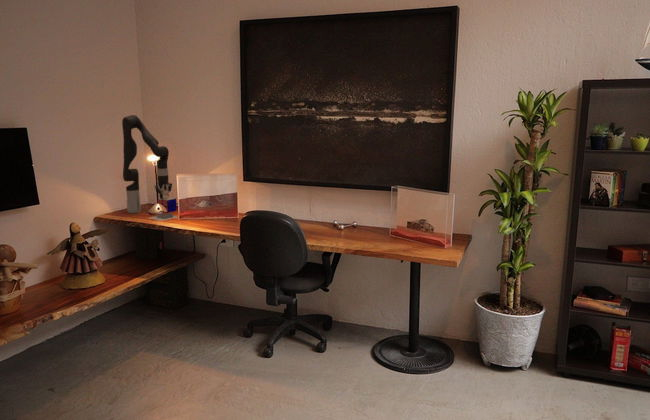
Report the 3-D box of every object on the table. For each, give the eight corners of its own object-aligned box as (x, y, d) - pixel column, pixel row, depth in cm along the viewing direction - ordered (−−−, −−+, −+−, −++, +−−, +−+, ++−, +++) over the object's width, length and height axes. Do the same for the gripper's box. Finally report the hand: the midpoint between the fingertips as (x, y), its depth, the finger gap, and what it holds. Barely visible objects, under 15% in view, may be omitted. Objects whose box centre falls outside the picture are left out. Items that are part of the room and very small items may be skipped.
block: (160, 199, 375) (159, 190, 374) (165, 198, 379) (164, 189, 377) (163, 200, 373) (163, 190, 372) (168, 199, 376) (167, 190, 375)
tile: (156, 214, 378) (164, 216, 373) (165, 212, 384) (173, 214, 379) (156, 217, 378) (164, 219, 373) (165, 215, 385) (173, 217, 379)
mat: (147, 218, 377) (147, 217, 377) (166, 214, 389) (166, 214, 389) (160, 221, 367) (160, 220, 367) (179, 217, 380) (179, 216, 380)
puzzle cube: (168, 213, 394) (167, 200, 392) (158, 212, 399) (157, 199, 397) (177, 211, 403) (176, 198, 401) (167, 209, 408) (166, 197, 406)
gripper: (157, 176, 364) (158, 200, 368) (174, 174, 376) (175, 197, 379) (151, 175, 369) (152, 199, 372) (167, 173, 380) (169, 196, 383)
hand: (164, 198), depth 376 cm, fingers closed on block, 4 cm apart
